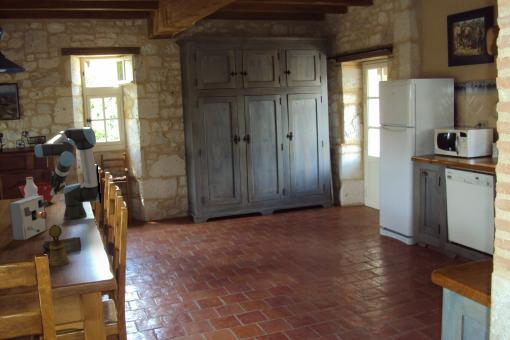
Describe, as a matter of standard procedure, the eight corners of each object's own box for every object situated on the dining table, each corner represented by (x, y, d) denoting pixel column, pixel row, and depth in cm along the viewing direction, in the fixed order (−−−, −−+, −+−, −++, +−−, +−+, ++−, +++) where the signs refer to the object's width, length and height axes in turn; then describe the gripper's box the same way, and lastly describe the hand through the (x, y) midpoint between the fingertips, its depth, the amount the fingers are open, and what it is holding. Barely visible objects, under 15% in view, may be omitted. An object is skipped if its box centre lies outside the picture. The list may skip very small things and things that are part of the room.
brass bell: (67, 257, 273) (63, 223, 270) (69, 264, 260) (65, 228, 258) (48, 260, 269) (45, 225, 267) (50, 267, 257) (46, 231, 254)
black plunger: (37, 207, 331) (36, 201, 330) (40, 206, 334) (39, 200, 334) (45, 207, 330) (44, 201, 329) (48, 205, 333) (47, 200, 333)
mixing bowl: (27, 201, 446) (25, 183, 444) (62, 199, 449) (60, 181, 447) (16, 208, 418) (13, 189, 416) (53, 205, 421) (51, 186, 419)
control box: (13, 239, 316) (8, 203, 313) (35, 229, 339) (31, 195, 336) (28, 239, 314) (24, 203, 311) (49, 229, 338) (45, 195, 335)
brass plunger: (30, 219, 323) (29, 212, 322) (34, 218, 328) (33, 210, 327) (43, 219, 322) (42, 212, 321) (47, 217, 326) (46, 210, 326)
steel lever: (27, 229, 317) (28, 226, 316) (29, 228, 319) (29, 225, 318) (38, 233, 316) (39, 230, 316) (40, 232, 318) (40, 229, 318)
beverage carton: (44, 252, 286) (43, 240, 285) (81, 247, 291) (80, 235, 291) (43, 256, 278) (41, 243, 277) (81, 251, 284) (80, 239, 283)
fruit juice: (38, 216, 382) (34, 177, 378) (25, 217, 380) (20, 178, 377) (41, 213, 391) (37, 176, 387) (28, 214, 390) (24, 177, 386)
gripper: (48, 166, 311) (40, 189, 327) (64, 182, 310) (55, 204, 326) (58, 161, 317) (50, 184, 332) (73, 176, 316) (64, 198, 331)
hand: (52, 193), depth 329 cm, fingers closed
